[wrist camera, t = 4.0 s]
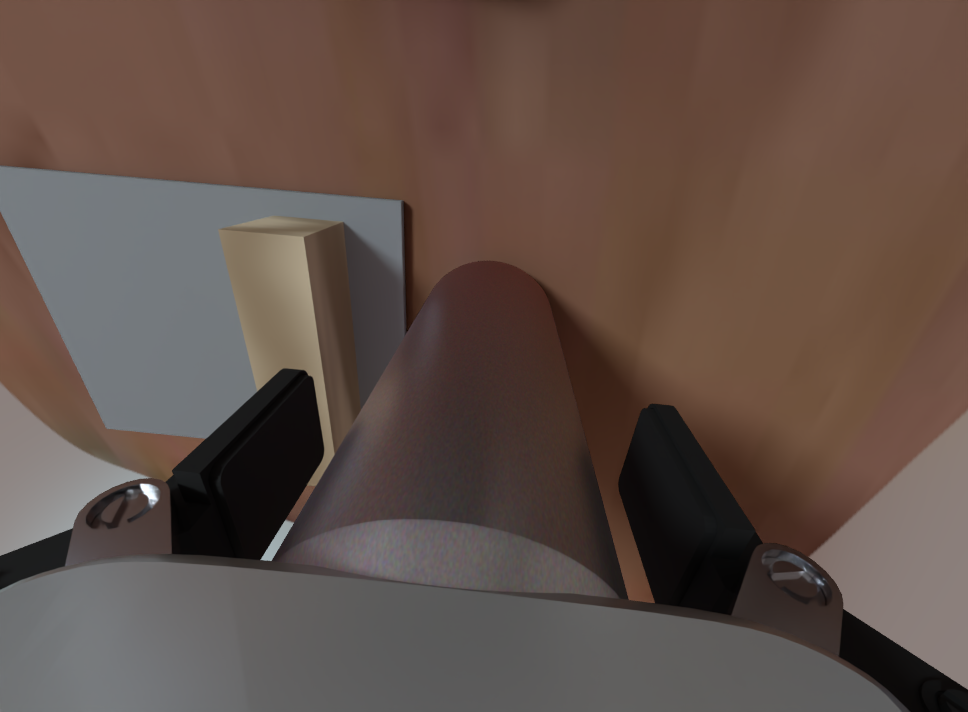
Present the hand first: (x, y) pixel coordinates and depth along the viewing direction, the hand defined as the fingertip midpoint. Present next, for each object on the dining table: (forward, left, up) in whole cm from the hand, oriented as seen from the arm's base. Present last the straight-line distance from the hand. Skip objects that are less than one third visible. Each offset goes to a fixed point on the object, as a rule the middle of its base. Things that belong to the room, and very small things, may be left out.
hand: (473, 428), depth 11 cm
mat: (+13, +2, -8) cm, 16 cm away
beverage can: (0, 0, -8) cm, 8 cm away
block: (+8, +2, -8) cm, 11 cm away
